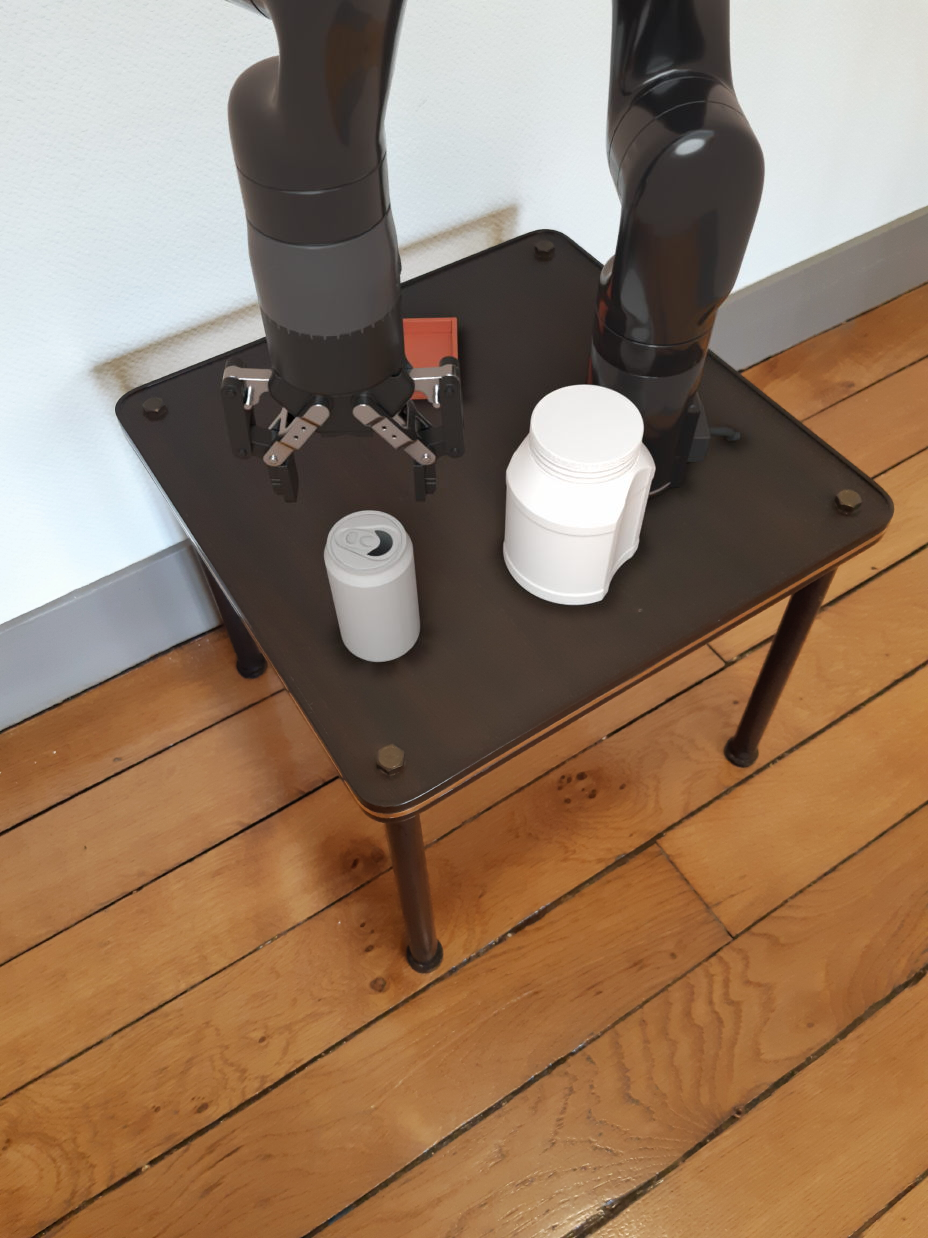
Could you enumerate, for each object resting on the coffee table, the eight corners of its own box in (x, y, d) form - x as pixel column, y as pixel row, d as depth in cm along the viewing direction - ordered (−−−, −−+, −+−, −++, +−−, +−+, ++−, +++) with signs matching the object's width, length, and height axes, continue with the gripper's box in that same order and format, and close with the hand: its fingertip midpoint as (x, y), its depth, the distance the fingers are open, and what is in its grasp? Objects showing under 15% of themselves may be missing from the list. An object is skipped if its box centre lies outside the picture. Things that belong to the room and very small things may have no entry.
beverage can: (410, 673, 74) (400, 582, 64) (332, 659, 75) (310, 567, 65) (428, 607, 78) (421, 512, 68) (353, 595, 78) (335, 499, 68)
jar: (555, 486, 85) (568, 354, 73) (650, 530, 82) (681, 400, 70) (487, 572, 80) (489, 445, 67) (586, 623, 77) (608, 499, 64)
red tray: (457, 333, 97) (456, 316, 95) (458, 398, 92) (458, 381, 90) (363, 335, 97) (361, 318, 95) (360, 400, 92) (357, 384, 90)
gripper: (180, 331, 47) (243, 537, 60) (466, 329, 47) (465, 535, 60) (202, 241, 51) (256, 452, 65) (464, 239, 51) (463, 451, 65)
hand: (357, 492), depth 63 cm, fingers open, 8 cm apart
